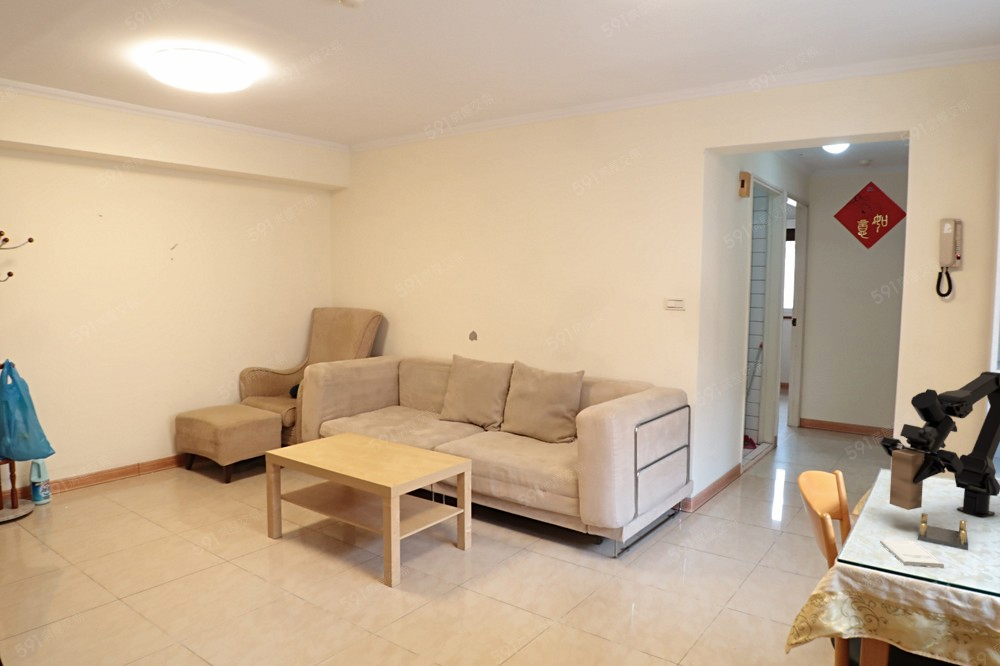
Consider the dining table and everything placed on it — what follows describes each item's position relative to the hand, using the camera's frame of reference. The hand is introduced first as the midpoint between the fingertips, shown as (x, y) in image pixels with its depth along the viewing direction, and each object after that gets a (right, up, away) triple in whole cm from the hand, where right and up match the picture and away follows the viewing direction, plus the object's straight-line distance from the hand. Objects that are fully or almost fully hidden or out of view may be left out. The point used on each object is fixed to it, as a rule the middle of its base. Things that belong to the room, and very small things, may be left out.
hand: (903, 479), depth 163 cm
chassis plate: (+7, -13, -5) cm, 16 cm away
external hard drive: (-8, -15, -15) cm, 23 cm away
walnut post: (+1, -7, +1) cm, 7 cm away
